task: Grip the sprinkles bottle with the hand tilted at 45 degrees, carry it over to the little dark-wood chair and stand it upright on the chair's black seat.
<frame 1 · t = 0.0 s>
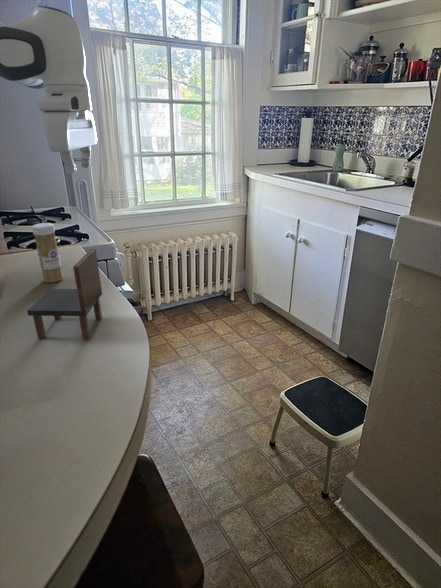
hand: (79, 170, 88), 25 cm above the table, tool pointing down, fingers open, 8 cm apart
sprinkles bottle: (53, 280, 94), on the table
chair: (71, 328, 73), on the table
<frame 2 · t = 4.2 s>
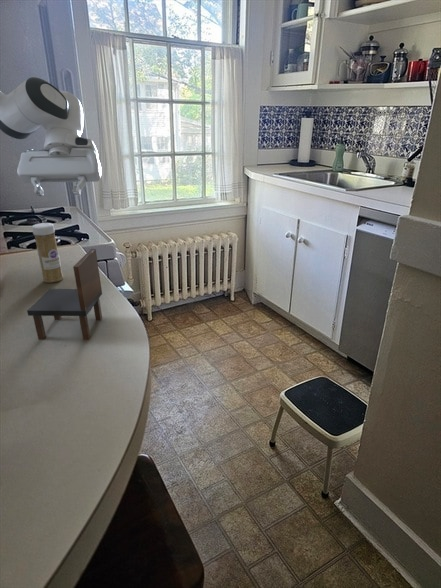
hand: (57, 194, 97), 18 cm above the table, tool tilted 45°, fingers open, 8 cm apart
nothing on the table moved.
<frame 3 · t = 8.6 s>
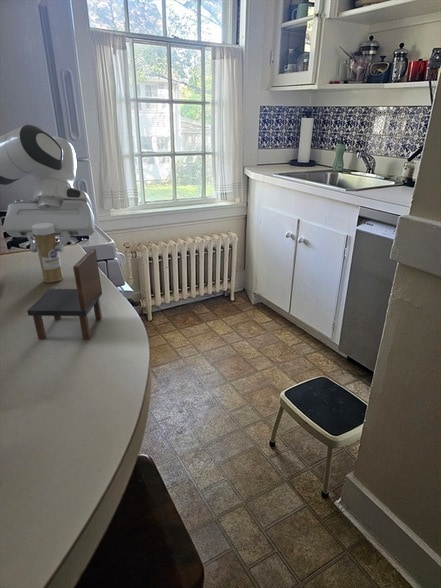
hand: (46, 251, 90), 7 cm above the table, tool tilted 45°, fingers closed on sprinkles bottle, 4 cm apart
sprinkles bottle: (53, 280, 94), on the table, touching gripper
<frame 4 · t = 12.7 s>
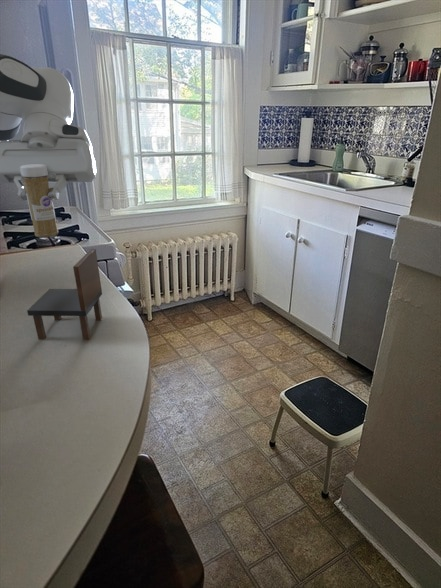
hand: (38, 198, 75), 21 cm above the table, tool tilted 45°, fingers closed on sprinkles bottle, 4 cm apart
sprinkles bottle: (47, 235, 79), point 14 cm above the table, touching gripper
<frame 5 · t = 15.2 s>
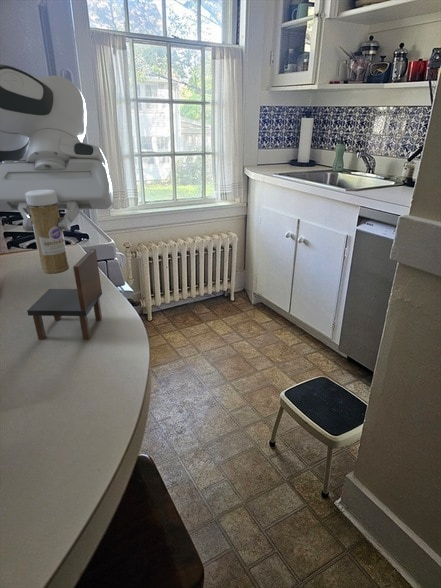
hand: (46, 229, 64), 19 cm above the table, tool tilted 45°, fingers closed on sprinkles bottle, 4 cm apart
sprinkles bottle: (56, 271, 68), point 11 cm above the table, touching gripper
when the fingers open (13 cm above the table, at t = 17.2 s): sprinkles bottle stays where it is, resting on chair.
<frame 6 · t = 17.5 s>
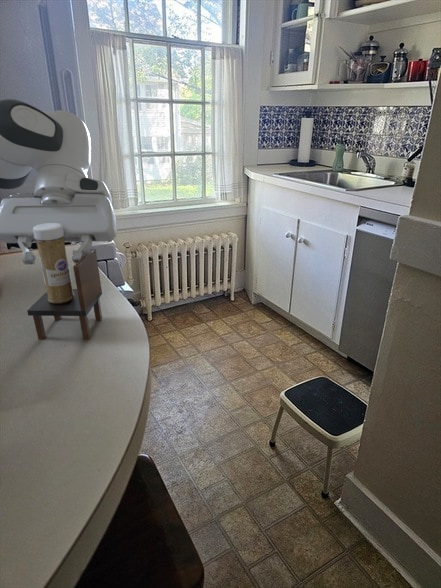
hand: (53, 262, 66), 13 cm above the table, tool tilted 45°, fingers open, 7 cm apart
sprinkles bottle: (61, 300, 70), point 6 cm above the table, touching chair
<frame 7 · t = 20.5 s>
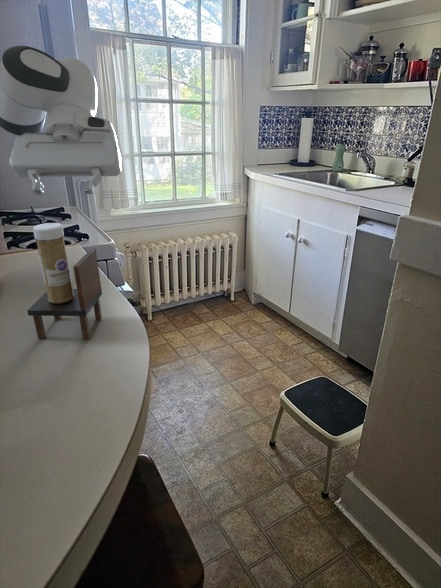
hand: (63, 192, 72), 23 cm above the table, tool tilted 45°, fingers open, 8 cm apart
nothing on the table moved.
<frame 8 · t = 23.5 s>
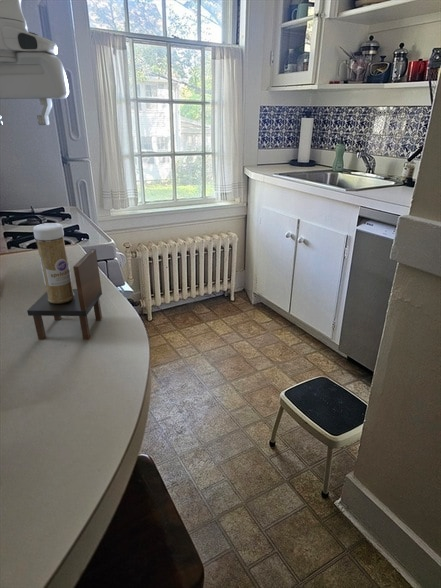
hand: (20, 125, 77), 34 cm above the table, tool pointing down, fingers open, 8 cm apart
nothing on the table moved.
at the end: sprinkles bottle inside the target area on the chair (0.6 cm from its centre), point 5.8 cm above the chair's base; sprinkles bottle tilted 0°; the gripper is holding nothing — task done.
